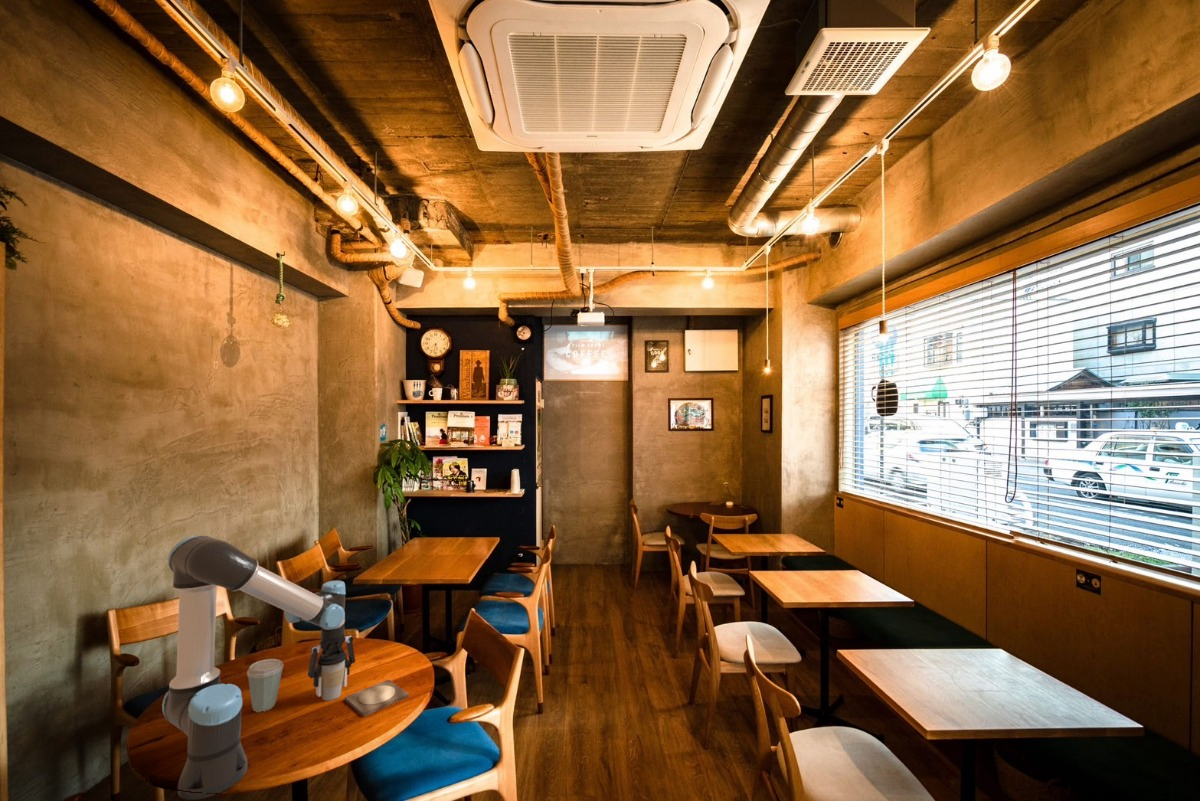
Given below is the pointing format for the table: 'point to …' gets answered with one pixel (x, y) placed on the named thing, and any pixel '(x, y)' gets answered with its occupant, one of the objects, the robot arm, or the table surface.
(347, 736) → the table surface
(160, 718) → the table surface
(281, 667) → the disposable coffee cup
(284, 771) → the table surface
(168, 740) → the table surface
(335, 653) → the coffee cup
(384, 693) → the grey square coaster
